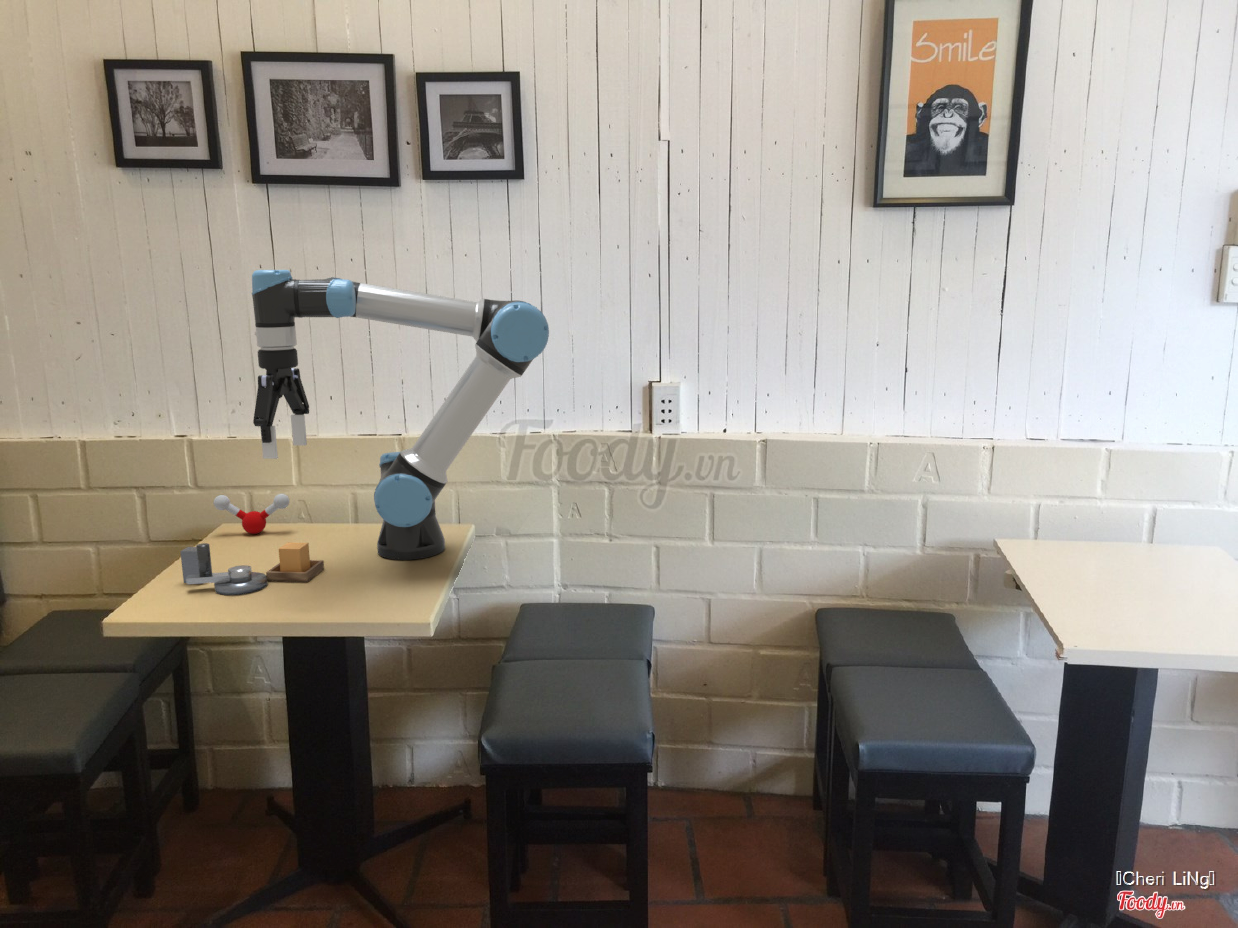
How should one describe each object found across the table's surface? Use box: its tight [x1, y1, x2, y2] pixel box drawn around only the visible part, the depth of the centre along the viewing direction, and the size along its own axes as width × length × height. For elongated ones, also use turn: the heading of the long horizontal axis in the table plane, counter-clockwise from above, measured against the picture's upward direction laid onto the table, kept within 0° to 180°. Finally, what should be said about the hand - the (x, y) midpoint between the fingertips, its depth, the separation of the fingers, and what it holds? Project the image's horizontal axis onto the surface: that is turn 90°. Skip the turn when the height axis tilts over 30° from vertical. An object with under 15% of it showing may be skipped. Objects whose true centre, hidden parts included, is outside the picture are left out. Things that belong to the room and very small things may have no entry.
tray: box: [265, 559, 325, 584], centre depth 198 cm, size 9×9×2 cm
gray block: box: [180, 546, 204, 585], centre depth 194 cm, size 4×3×7 cm
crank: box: [186, 542, 253, 585], centre depth 190 cm, size 12×4×8 cm, turn 103°
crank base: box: [211, 571, 268, 596], centre depth 192 cm, size 10×10×2 cm
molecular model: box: [213, 493, 290, 535], centre depth 228 cm, size 18×6×10 cm, turn 102°
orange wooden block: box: [278, 541, 311, 572], centre depth 198 cm, size 4×4×6 cm
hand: (285, 451), depth 193 cm, fingers open, 13 cm apart
